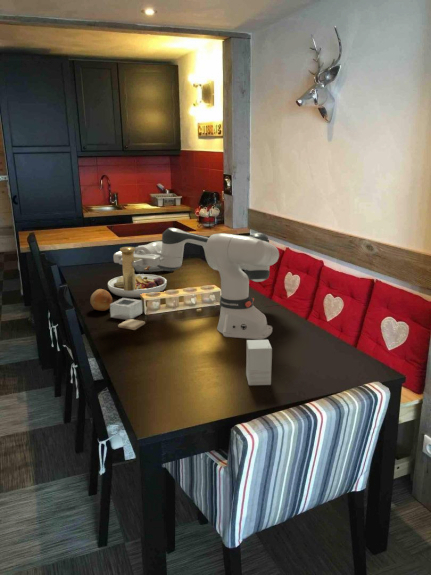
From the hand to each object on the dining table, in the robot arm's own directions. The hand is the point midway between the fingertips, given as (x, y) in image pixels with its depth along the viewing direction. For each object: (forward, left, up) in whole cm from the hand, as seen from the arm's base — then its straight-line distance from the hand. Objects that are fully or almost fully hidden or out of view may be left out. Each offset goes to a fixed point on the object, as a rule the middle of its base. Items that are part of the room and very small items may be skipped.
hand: (127, 263), depth 194 cm
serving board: (+44, -91, -28) cm, 105 cm away
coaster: (0, -1, -27) cm, 27 cm away
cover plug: (0, -1, -11) cm, 11 cm away
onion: (+23, -12, -27) cm, 37 cm away
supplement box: (-64, +25, -27) cm, 74 cm away
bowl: (+25, -46, -27) cm, 59 cm away
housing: (+9, -11, -27) cm, 30 cm away
